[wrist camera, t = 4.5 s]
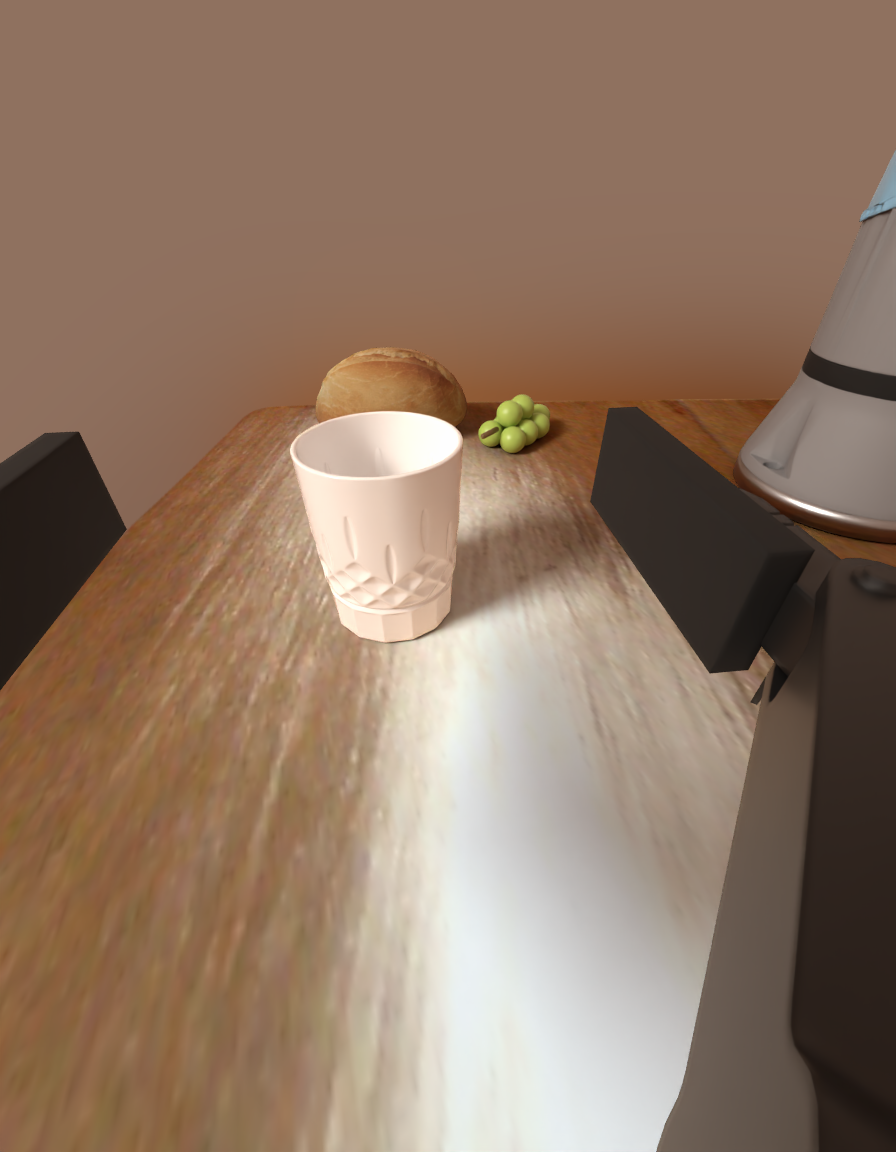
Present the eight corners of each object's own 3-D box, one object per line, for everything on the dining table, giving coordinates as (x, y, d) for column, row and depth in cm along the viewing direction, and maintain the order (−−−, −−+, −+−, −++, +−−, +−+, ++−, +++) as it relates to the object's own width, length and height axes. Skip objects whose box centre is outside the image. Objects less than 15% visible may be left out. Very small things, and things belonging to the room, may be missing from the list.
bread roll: (473, 448, 46) (475, 359, 41) (314, 457, 45) (296, 366, 40) (460, 413, 53) (461, 334, 49) (323, 420, 52) (310, 339, 47)
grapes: (523, 419, 52) (526, 379, 49) (563, 430, 49) (569, 387, 47) (460, 453, 45) (460, 408, 42) (502, 467, 43) (505, 420, 40)
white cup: (316, 580, 30) (279, 424, 24) (433, 552, 32) (428, 402, 26) (343, 670, 24) (304, 493, 18) (484, 627, 27) (492, 458, 21)
